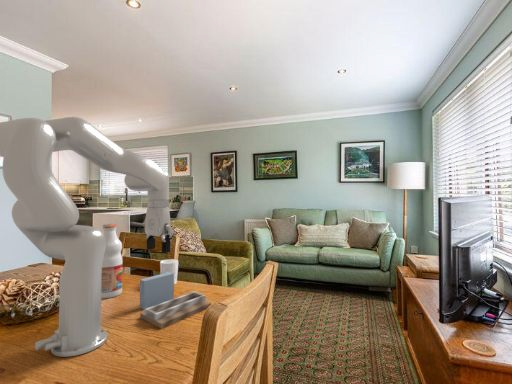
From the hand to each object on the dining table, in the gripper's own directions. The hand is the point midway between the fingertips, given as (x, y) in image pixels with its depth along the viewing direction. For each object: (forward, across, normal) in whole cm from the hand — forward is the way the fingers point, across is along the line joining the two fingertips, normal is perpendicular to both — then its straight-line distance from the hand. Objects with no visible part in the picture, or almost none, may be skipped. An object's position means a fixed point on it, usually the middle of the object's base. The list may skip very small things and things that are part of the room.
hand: (158, 250), depth 100 cm
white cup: (+20, -16, +16) cm, 30 cm away
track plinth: (+19, +12, 0) cm, 23 cm away
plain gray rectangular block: (+19, 0, 0) cm, 19 cm away
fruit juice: (+20, -23, -7) cm, 31 cm away
